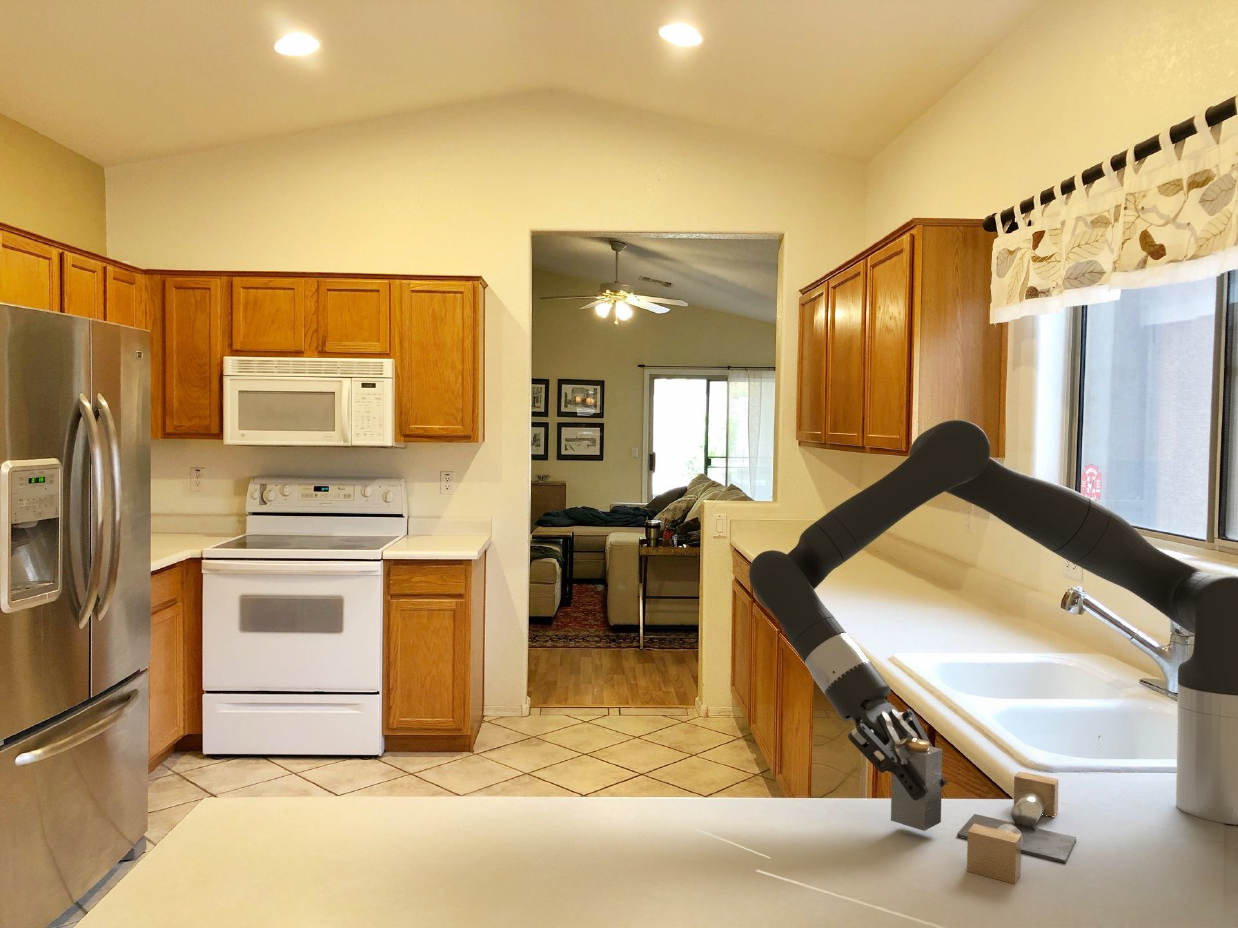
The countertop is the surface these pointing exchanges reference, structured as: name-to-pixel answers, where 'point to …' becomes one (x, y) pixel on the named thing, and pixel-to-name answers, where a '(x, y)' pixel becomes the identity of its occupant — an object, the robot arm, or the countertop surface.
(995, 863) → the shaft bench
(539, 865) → the countertop surface
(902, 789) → the gold-capped grey pillar
